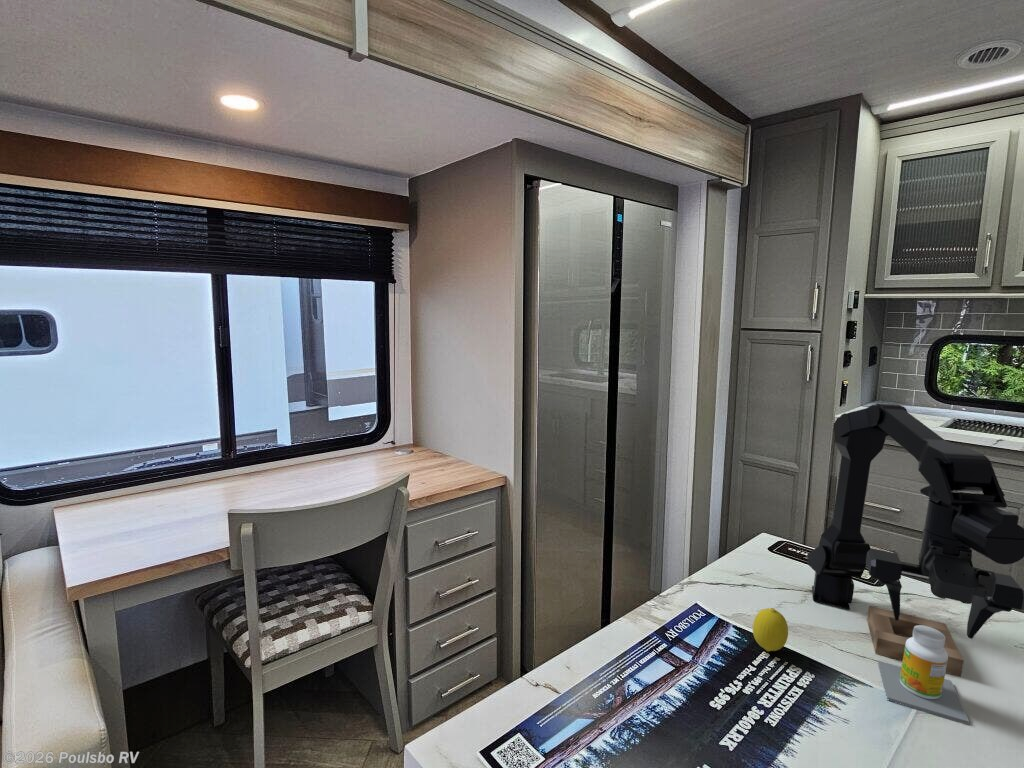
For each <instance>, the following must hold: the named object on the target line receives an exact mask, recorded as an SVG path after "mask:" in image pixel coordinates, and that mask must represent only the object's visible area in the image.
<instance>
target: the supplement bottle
mask: <svg viewBox="0 0 1024 768" xmlns="http://www.w3.org/2000/svg"><path fill="white" fill-rule="evenodd" d="M908 638H909V639H907V641H906V644H905V649H904V656H903V661H902V663H901V666H900V667H901V673H900V683H901V684H902V686H903V687H904V688H905V689H907V690H908V691H909V692H911V693H913V694H915V695H917V696H919V697H922V698H925V699H938V698H939V697H940V696H941V694H942V689H943V683H944V679H946V678H945V677H946V673H945V672H946V666H947V661H948V654H947V652H946V650H945V649H944V648H943V647H944V645H945V636H944V635H943V634H942V633H941V632H940V631H938V630H936V629H934V628H931V627H928V626H923V625H917V626H915V627H914V629H913V637H908Z"/></svg>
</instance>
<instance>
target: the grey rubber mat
mask: <svg viewBox="0 0 1024 768" xmlns="http://www.w3.org/2000/svg"><path fill="white" fill-rule="evenodd" d="M877 664H878V669H879V673H880V677H881V682H882V685H883V690H884V689H885V690H884V693H885V692H886V694H885V697H886V696H887V698H886V700H887V699H889V700H891V701H890V702H892V701H894V702H893V703H895V702H897V703H896V704H898V703H901V704H904V705H903V706H905V705H906V707H908V706H910V707H909V708H911V707H913V709H915V710H918V711H922V712H925V713H928V714H932V715H935V716H939V717H941V718H946V719H948V720H952V721H954V722H955V721H956V722H959V723H962V724H965V725H969V723H970V721H969V718H968V716H967V714H966V712H965V710H964V707H963V704H962V702H961V700H960V698H959V696H958V693H957V691H956V689H955V685H953V681H952V680H950V679H946V678H944V683H943V689H942V694H941V696H940V697H939V698H938V699H925V698H922V697H919V696H917V695H915V694H913V693H911V692H909V691H908V690H907V689H905V688H904V687H903V686H902V684H901V683H900V673H901V667H902V666H899V665H896V664H892V663H888V662H885V661H880V660H878V661H877ZM901 704H900V705H901Z"/></svg>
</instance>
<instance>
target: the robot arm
mask: <svg viewBox="0 0 1024 768" xmlns="http://www.w3.org/2000/svg"><path fill="white" fill-rule="evenodd" d="M833 431H834V441H833V442H834V444H835V445H836V447H837V449H838V451H839V453H840V455H841V456H840V457H841V459H840V466H839V473H838V480H837V488H836V491H835V492H836V493H835V501H834V506H833V514H832V522H831V524H830V525H829V526H828V527H827V529H825V531H823V532H822V533H821V535H820V539H819V542H818V546H817V547H816V548H814V549H813V550H812V551H810V552H809V553H807V564H808V566H809V568H811V569H812V570H813V571H814V581H813V585H812V586H811V592H812V593H811V595H812V601H814V602H815V603H819V604H822V605H823V604H824V605H828V606H830V607H831V606H833V607H836V608H840V609H843V610H848V611H849V610H850V609H851V607H850V605H851V604H852V603H853V599H854V598H853V597H854V591H855V583H854V579H853V577H854V578H862V576H863V574H864V571H865V569H866V568H867V572H868V575H869V576H870V577H873V578H874V579H877V582H879V584H881V585H885V586H886V588H887V590H888V591H887V592H888V595H889V599H890V604H891V607H892V608H891V609H892V611H893V614H894V618H895V620H897V621H898V620H899V615H900V613H901V590H902V587H903V585H902V583H901V581H900V580H901V578H902V575H904V576H908V577H913V578H918V579H923V580H927V581H928V582H929V584H930V592H931V593H932V595H934V596H935V597H936V598H940V599H948V600H954V601H957V602H961V603H962V604H965V605H970V610H969V614H968V618H967V622H966V623H967V625H966V636H967V638H968V639H970V640H972V639H973V638H974V637H975V636H976V634H977V633H978V632H979V631H980V629H981V628H982V627H983V626H984V625H985V623H986V622H987V621H988V620H989V619H990V618H991V617H992V616H993V615H995V614H996V613H1000V612H1008V613H1009V612H1010V613H1011V611H1012V610H1013V609H1015V610H1019V611H1020V610H1021V611H1022V610H1024V588H1023V587H1021V585H1020V584H1019V583H1018V581H1017V580H1016V579H1014V577H1013V576H1012V575H1008V574H1004V573H999V572H994V571H991V570H986V569H981V568H979V567H975V566H974V565H973V561H972V558H973V554H972V553H973V550H974V551H976V552H977V553H978V554H980V555H982V556H984V557H986V558H988V559H989V560H991V561H993V562H995V563H997V564H1000V565H1012V564H1015V563H1017V562H1019V561H1020V560H1022V559H1023V558H1024V527H1023V526H1021V525H1019V524H1018V523H1019V518H1020V517H1019V515H1017V514H1016V513H1013V512H1011V511H1005V510H1002V509H1006V508H1007V507H1008V505H1007V502H1006V499H1005V493H1004V491H1003V489H1002V487H1001V486H1000V483H999V480H998V478H997V475H996V472H995V470H994V468H993V463H992V462H991V460H990V459H989V458H988V457H987V456H986V455H984V454H982V453H981V452H978V451H976V450H973V449H971V448H969V447H967V446H963V445H959V444H956V443H952V442H950V441H948V440H946V439H944V438H943V437H941V436H940V435H939V434H937V433H936V432H935V431H934V430H933V429H931V428H929V427H928V426H927V425H925V424H924V423H923V422H921V421H920V420H919V419H917V418H916V417H914V415H912V414H910V413H909V412H908V410H907V408H906V407H905V406H902V405H900V404H893V403H892V404H891V403H875V404H871V405H870V406H868V407H865V408H862V409H857V410H854V411H850V412H847V413H843V414H841V415H840V416H838V417H837V418H836V420H834V423H833ZM887 438H891V439H893V441H895V443H897V444H898V445H900V446H901V447H902V448H903V449H904V450H905V451H907V452H908V453H909V454H910V455H911V456H913V457H914V459H916V461H917V463H918V467H917V468H918V469H917V470H918V472H919V473H920V474H921V475H922V477H923V478H924V479H925V481H926V482H927V483H928V485H926V486H924V487H922V488H920V491H919V492H920V494H922V495H923V496H926V497H927V498H928V502H927V509H926V515H925V523H924V526H923V530H922V540H921V545H920V552H919V554H918V558H917V559H918V564H916V563H910V562H906V561H901V560H900V558H899V555H898V553H896V552H892V551H888V550H883V549H876V548H871V546H870V544H869V543H867V542H866V540H865V538H864V536H863V535H862V524H863V522H862V521H863V516H864V512H865V511H864V509H865V503H866V497H867V490H868V489H867V488H868V483H869V476H870V470H871V464H872V461H873V460H874V459H875V458H876V457H877V456H878V455H879V454H880V453H881V452H882V450H884V446H885V442H886V439H887ZM957 491H959V492H957ZM970 492H971V493H970ZM980 492H982V493H980Z"/></svg>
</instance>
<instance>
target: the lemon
mask: <svg viewBox="0 0 1024 768" xmlns="http://www.w3.org/2000/svg"><path fill="white" fill-rule="evenodd" d="M752 634H753V638H754V640H755V641H756V643H757V644H758V645H759V646H760V647H761V648H762V649H764V650H765V651H766V652H769V653H770V652H776V651H779V650H781V649H782V648H783V647H784V646H785V645H786V644H787V641H788V637H789V627H788V622H787V620H786V618H785V617H784V615H783V614H782V613H781V612H780V611H779V610H776V609H775V608H773V607H771V608H763V609H761V610H760V611H758V612H757V613H756V615H755V617H754V619H753V624H752Z"/></svg>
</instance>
